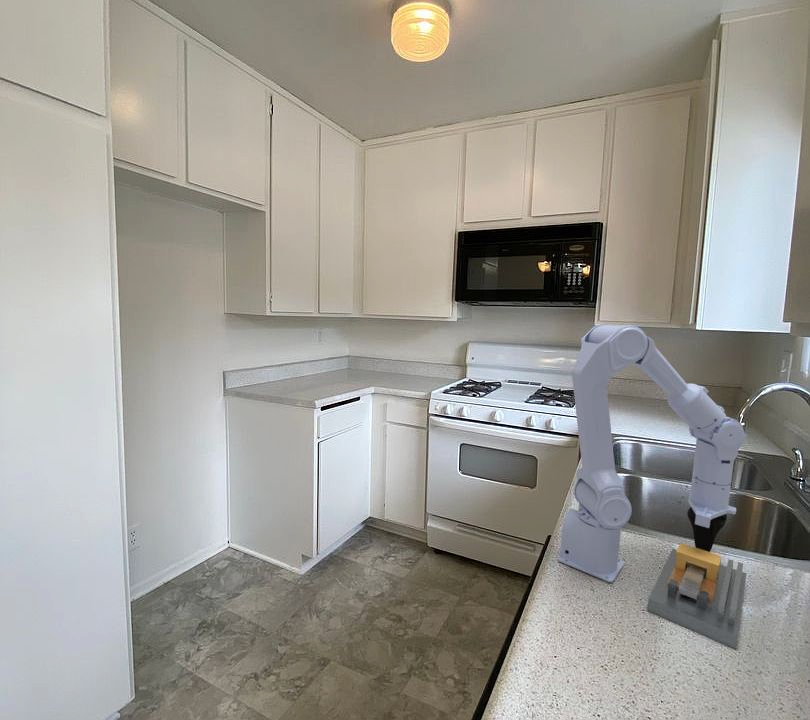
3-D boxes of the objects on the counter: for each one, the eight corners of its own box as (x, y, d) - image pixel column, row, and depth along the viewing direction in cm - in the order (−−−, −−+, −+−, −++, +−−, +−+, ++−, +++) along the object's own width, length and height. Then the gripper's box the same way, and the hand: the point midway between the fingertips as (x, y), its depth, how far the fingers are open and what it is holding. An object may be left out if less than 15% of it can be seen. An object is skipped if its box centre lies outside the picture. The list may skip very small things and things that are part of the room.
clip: (674, 568, 74) (676, 551, 74) (678, 559, 77) (680, 542, 77) (716, 583, 70) (718, 565, 70) (719, 573, 73) (721, 555, 73)
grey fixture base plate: (647, 610, 66) (650, 584, 66) (671, 558, 81) (674, 536, 80) (736, 649, 59) (740, 619, 58) (744, 584, 74) (748, 560, 73)
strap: (678, 592, 67) (678, 588, 66) (689, 563, 75) (689, 560, 75) (696, 599, 65) (697, 595, 65) (705, 569, 73) (706, 565, 73)
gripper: (735, 498, 69) (726, 576, 70) (742, 474, 80) (733, 543, 81) (684, 485, 73) (676, 559, 75) (697, 465, 84) (689, 529, 86)
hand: (702, 549), depth 78 cm, fingers closed
